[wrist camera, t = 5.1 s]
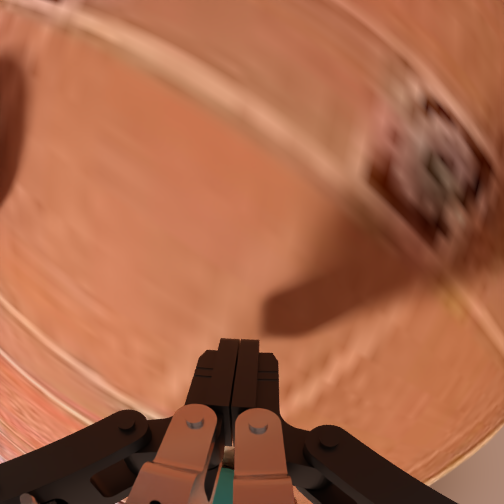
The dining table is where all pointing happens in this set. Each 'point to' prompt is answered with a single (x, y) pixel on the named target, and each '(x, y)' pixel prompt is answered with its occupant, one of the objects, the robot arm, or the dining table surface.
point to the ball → (224, 487)
